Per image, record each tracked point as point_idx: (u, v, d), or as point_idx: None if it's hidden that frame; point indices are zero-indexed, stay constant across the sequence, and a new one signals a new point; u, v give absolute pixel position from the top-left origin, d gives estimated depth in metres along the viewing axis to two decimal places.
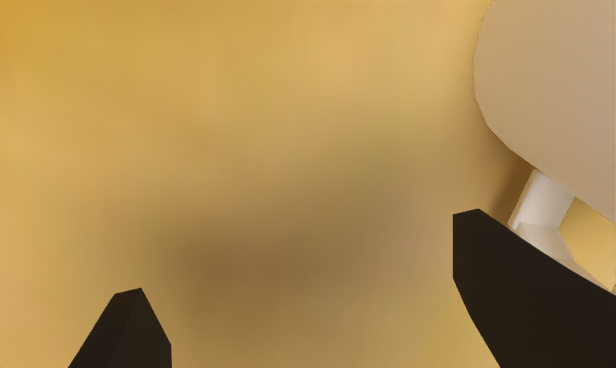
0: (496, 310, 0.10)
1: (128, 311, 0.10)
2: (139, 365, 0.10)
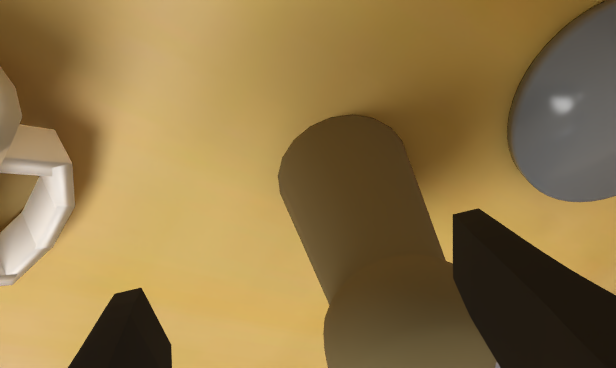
0: (496, 310, 0.10)
1: (128, 311, 0.10)
2: (139, 365, 0.10)
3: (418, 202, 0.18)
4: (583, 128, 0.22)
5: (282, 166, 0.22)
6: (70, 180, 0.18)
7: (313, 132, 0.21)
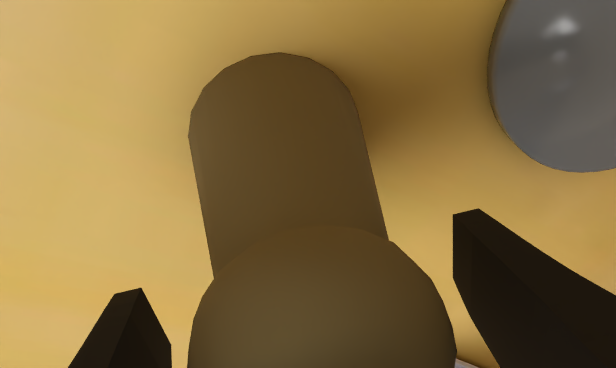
0: (496, 310, 0.10)
1: (128, 311, 0.10)
2: (139, 365, 0.10)
3: (353, 159, 0.13)
4: (586, 71, 0.17)
5: (190, 123, 0.16)
6: None
7: (226, 75, 0.16)
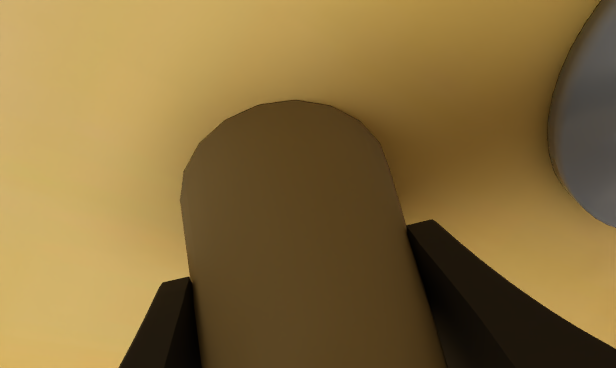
0: (444, 323, 0.10)
1: (180, 299, 0.10)
2: (191, 352, 0.10)
3: (400, 260, 0.09)
4: None
5: (183, 186, 0.13)
6: None
7: (227, 130, 0.12)
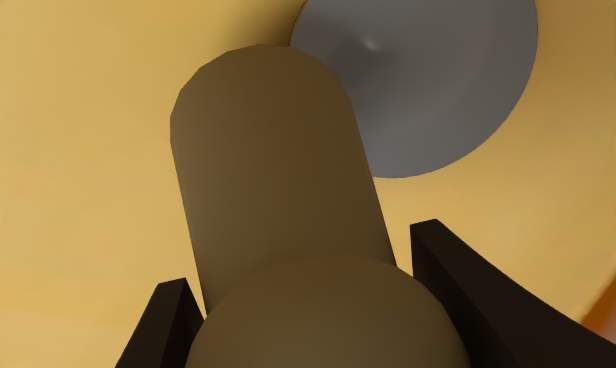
0: None
1: (176, 300, 0.10)
2: (187, 354, 0.10)
3: (347, 163, 0.12)
4: (371, 91, 0.20)
5: (171, 129, 0.15)
6: None
7: (202, 75, 0.14)
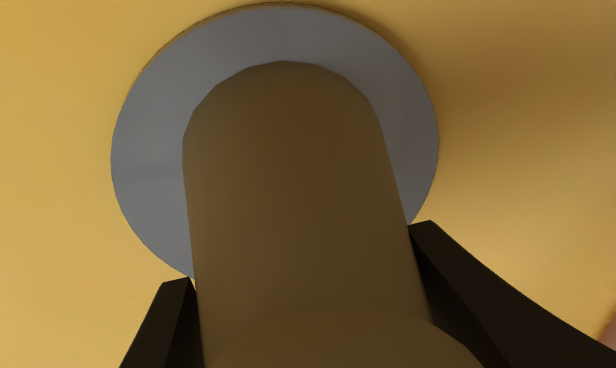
0: (442, 323, 0.10)
1: (180, 299, 0.10)
2: (192, 353, 0.10)
3: (375, 194, 0.10)
4: None
5: (182, 151, 0.14)
6: None
7: (217, 93, 0.13)
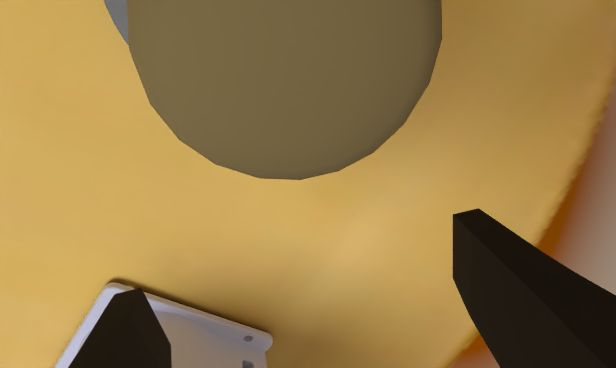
0: (496, 310, 0.10)
1: (128, 311, 0.10)
2: (139, 365, 0.10)
3: None
4: None
5: None
6: None
7: None
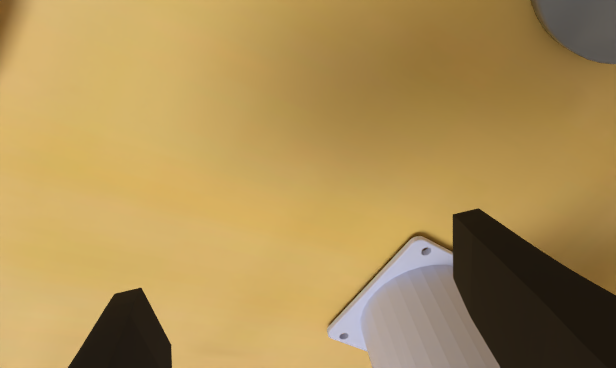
0: (496, 310, 0.10)
1: (128, 311, 0.10)
2: (139, 365, 0.10)
3: None
4: None
5: None
6: None
7: None
